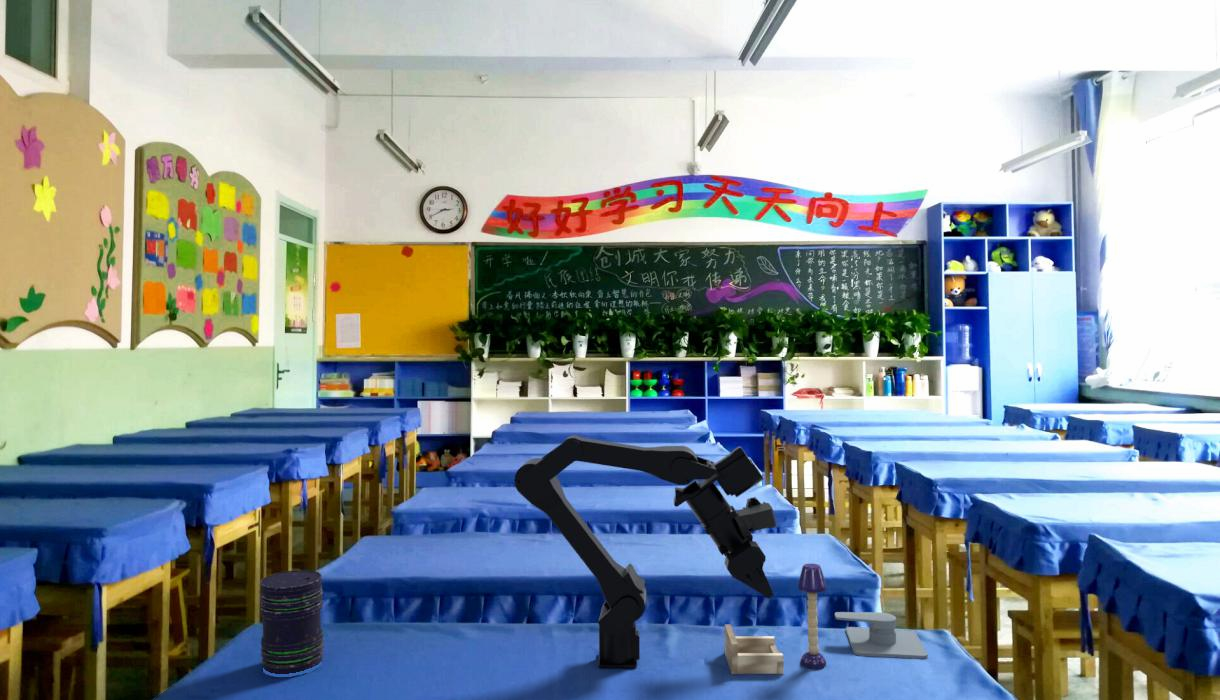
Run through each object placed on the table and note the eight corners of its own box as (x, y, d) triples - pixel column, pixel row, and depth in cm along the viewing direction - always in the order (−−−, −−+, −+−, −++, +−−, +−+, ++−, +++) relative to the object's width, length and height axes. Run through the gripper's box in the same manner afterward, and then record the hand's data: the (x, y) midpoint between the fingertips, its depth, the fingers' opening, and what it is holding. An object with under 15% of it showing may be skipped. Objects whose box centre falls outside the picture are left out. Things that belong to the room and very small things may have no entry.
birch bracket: (731, 674, 137) (731, 644, 137) (724, 652, 146) (724, 624, 146) (783, 674, 137) (783, 644, 137) (773, 652, 146) (773, 624, 146)
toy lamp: (792, 663, 141) (792, 565, 141) (806, 655, 145) (806, 559, 144) (818, 671, 138) (818, 571, 138) (832, 662, 141) (832, 565, 141)
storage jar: (250, 678, 137) (248, 587, 136) (276, 654, 146) (274, 569, 146) (310, 678, 136) (309, 587, 136) (332, 654, 146) (331, 570, 146)
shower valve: (831, 602, 157) (914, 605, 155) (831, 630, 157) (914, 634, 155) (839, 625, 145) (929, 629, 143) (838, 656, 145) (929, 661, 143)
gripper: (763, 497, 131) (818, 578, 132) (744, 474, 150) (793, 545, 150) (704, 537, 132) (760, 617, 132) (693, 509, 150) (742, 580, 151)
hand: (766, 587), depth 141 cm, fingers open, 9 cm apart
